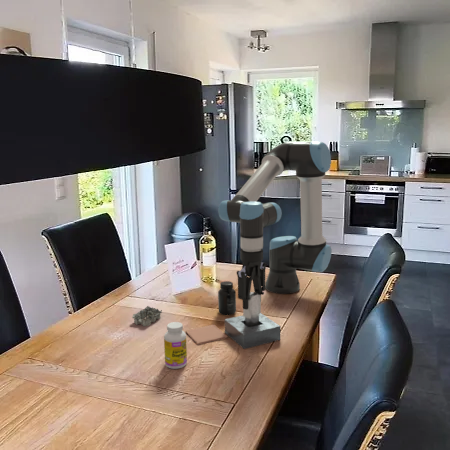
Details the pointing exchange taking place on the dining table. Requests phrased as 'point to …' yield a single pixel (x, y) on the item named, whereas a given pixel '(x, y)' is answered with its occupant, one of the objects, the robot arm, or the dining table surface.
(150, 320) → the grey lumpy block
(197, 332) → the rubber pad
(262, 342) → the bored block
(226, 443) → the dining table surface
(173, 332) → the supplement bottle
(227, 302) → the supplement bottle
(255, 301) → the steel plug
